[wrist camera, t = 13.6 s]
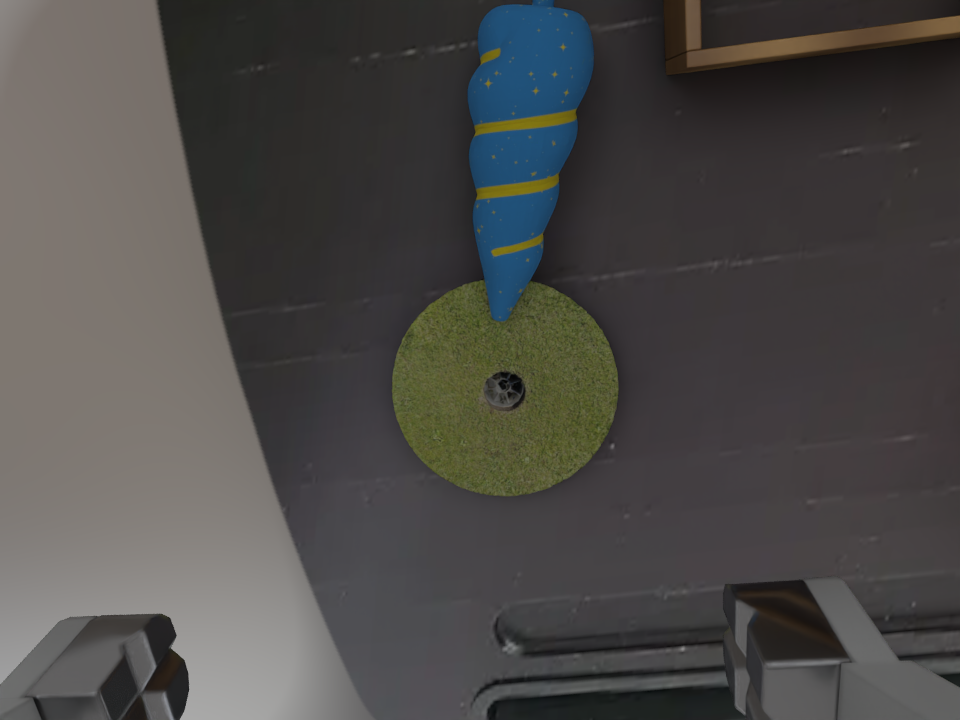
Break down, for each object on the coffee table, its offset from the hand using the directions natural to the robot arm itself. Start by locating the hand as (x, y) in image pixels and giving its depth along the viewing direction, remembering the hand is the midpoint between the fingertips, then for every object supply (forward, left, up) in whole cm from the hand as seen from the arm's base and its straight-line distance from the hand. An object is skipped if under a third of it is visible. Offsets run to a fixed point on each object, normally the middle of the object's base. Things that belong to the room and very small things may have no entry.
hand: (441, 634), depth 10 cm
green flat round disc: (+4, -4, -26) cm, 27 cm away
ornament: (+1, -2, -24) cm, 24 cm away
